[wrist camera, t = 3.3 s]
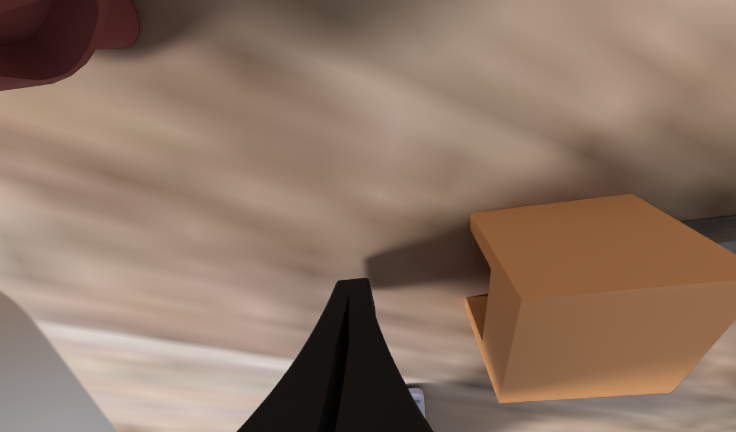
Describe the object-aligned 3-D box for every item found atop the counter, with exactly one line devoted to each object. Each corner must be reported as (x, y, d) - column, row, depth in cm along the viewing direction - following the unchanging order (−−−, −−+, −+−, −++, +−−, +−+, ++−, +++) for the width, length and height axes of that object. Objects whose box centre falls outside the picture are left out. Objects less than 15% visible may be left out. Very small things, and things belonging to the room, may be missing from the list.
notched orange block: (589, 296, 14) (671, 392, 10) (465, 307, 14) (498, 403, 10) (631, 192, 11) (773, 276, 7) (471, 212, 11) (521, 299, 7)
